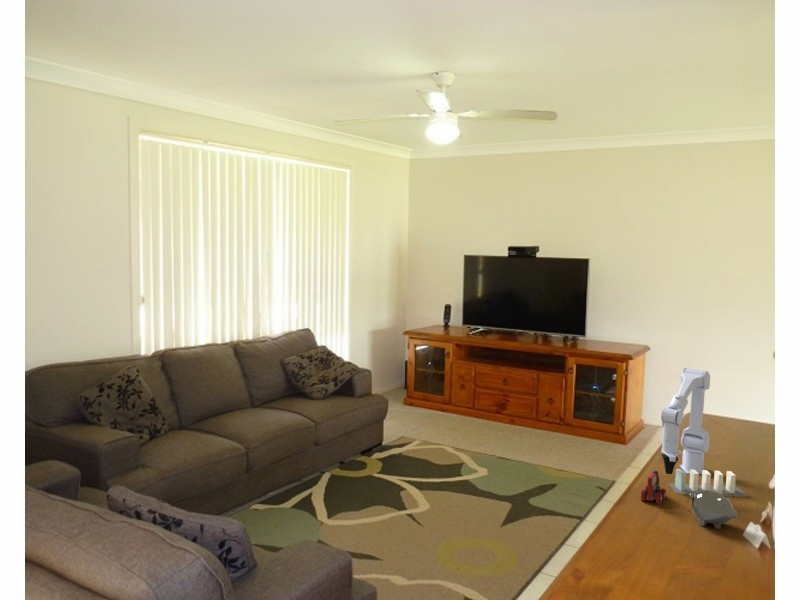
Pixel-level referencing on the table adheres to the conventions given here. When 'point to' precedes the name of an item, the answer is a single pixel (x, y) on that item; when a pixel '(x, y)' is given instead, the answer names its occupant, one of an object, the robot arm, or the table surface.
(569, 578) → the table surface
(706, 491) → the piggy bank
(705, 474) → the tile
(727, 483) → the tile
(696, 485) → the tile
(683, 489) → the pale green tile
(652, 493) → the toy fire truck
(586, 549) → the table surface
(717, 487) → the tile
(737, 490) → the runner mat
